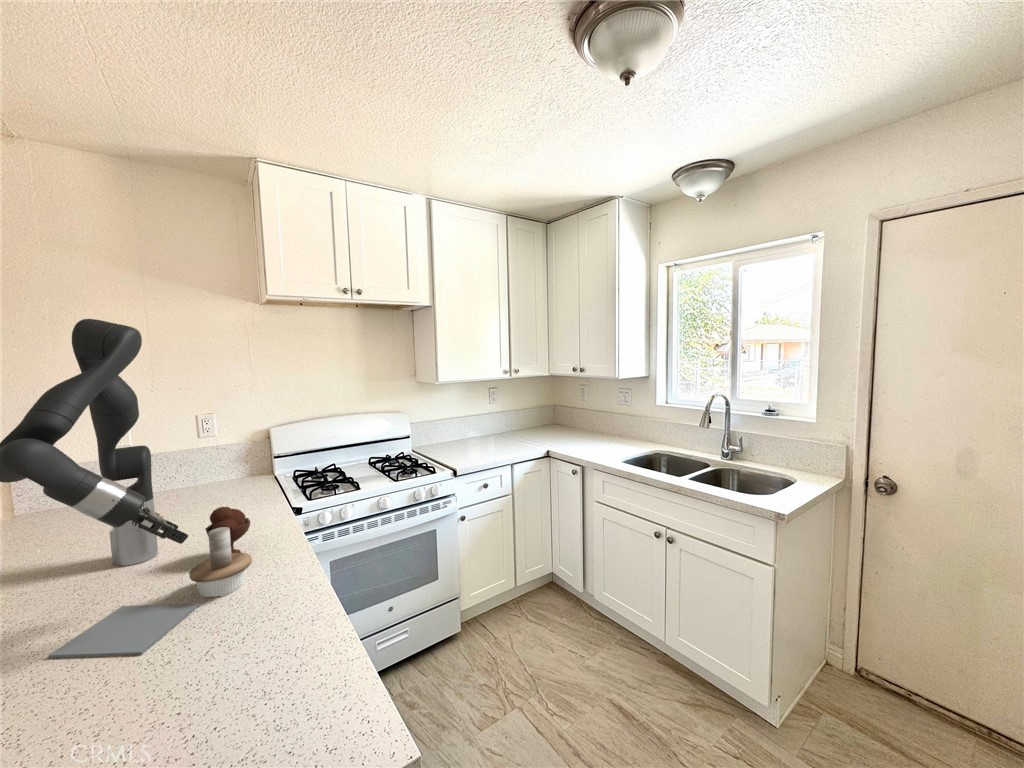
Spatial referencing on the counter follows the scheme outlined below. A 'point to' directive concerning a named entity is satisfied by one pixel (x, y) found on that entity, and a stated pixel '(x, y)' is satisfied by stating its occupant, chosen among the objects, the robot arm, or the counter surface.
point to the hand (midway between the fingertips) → (179, 534)
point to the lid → (220, 559)
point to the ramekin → (221, 585)
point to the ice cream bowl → (229, 523)
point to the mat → (126, 631)
